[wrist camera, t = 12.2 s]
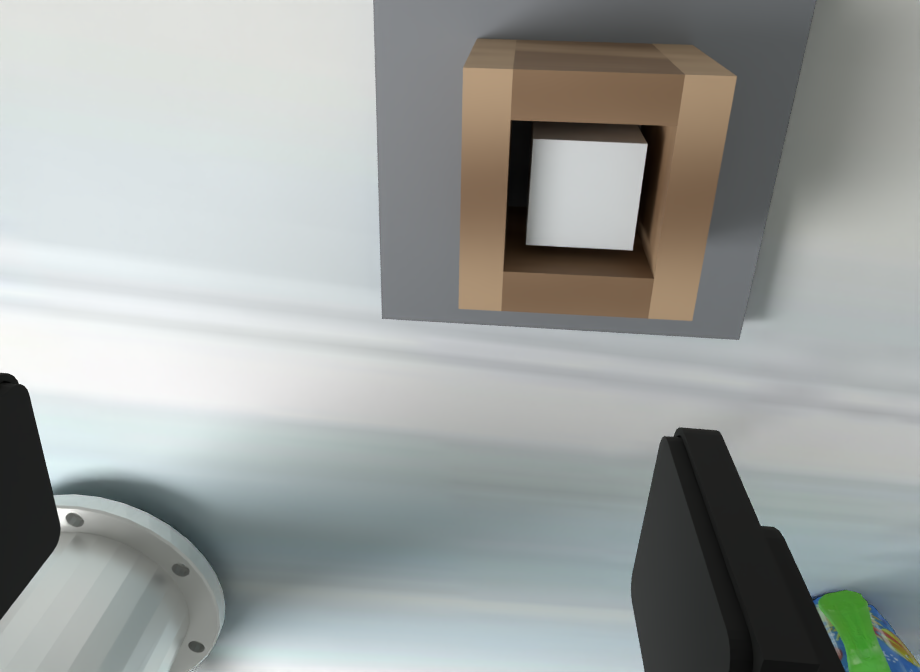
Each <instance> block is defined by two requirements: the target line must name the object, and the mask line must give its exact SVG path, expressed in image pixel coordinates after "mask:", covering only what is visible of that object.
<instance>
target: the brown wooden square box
mask: <svg viewBox="0 0 920 672" xmlns="http://www.w3.org/2000/svg"><path fill="white" fill-rule="evenodd" d="M736 79H737V76H736V75H735V74H733V73H732V72H730V71H729V70H727V69H726V68H725V67H723V66H722V65H720V64H719V63H718V62H716V61H715V60H713V59H712V58H710V57H709V56H708V55H706V54H705V53H703V52H702V51H701V50H699V49H698V48H696V47H695V46H693V45H681V44H647V43H612V42H578V41H543V40H509V39H477V40H476V42H475V44H474V46H473V48H472V50H471V52H470V54H469V56H468V58H467V60H466V62H465V65H464V67H463V94H462V149H461V203H460V257H459V309H471V310H491V311H510V312H529V313H549V314H568V315H587V316H607V317H626V318H646V319H665V320H684V321H692V320H693V314H694V309H695V303H696V298H697V292H698V287H699V281H700V276H701V270H702V265H703V260H704V254H705V249H706V243H707V238H708V232H709V227H710V221H711V216H712V210H713V205H714V199H715V194H716V189H717V183H718V178H719V172H720V167H721V161H722V156H723V150H724V145H725V139H726V134H727V129H728V123H729V118H730V112H731V107H732V101H733V96H734V90H735V85H736ZM513 120H521V121H549V122H577V123H605V124H633V125H641V133H642V135H643V136H644V138H645V140H646V142H647V144H648V145H647V152H646V159H645V166H644V173H643V180H642V187H641V194H640V201H639V208H638V215H637V222H636V230H635V237H634V244H633V250H615V249H596V248H577V247H558V246H539V245H526V207H512V206H508V201H509V181H510V161H511V141H512V121H513Z"/></svg>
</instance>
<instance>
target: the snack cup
mask: <svg viewBox="0 0 920 672" xmlns="http://www.w3.org/2000/svg"><path fill="white" fill-rule="evenodd" d="M813 602H814V604H815V606H816V609H817V611H818V613H819V615H820V617H821V619H822V622H823V624H824V626H825V628H826V630H827V632H828V635H829V637H830V639H831V641H832V643H833V645H834V648H835V650H836V652H837V654H838V656H839V659H840V661H841V663H842V665H843V667H844V669H845V672H920V665H919V663H918V662H917V661H916V659H915V658H914V656H913V655H912V654H911V652H910V651H909V650H908V649H907V647H906V646H905V645H904V644H903V642H902V641H901V640H900V639H899V638H898V636H897V635H896V634H895V632H894V630H893V628H892V627H891V626H890V624H889V623H888V622H887V621H886V620H885V619H884V618H883V617H882V616H881V615H880V614H879V612H878V611H877V610H876V608H875V607H874V606H872V605H868V603H867V601H866V600H865V599H864V598H863V597H862V595H861V594H859V593H856V592H853V591H848V590H843V591H838V592H833V593H828V594H825V595H823V596H821V597H818V598H816V599H815V600H813Z"/></svg>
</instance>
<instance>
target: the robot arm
mask: <svg viewBox="0 0 920 672" xmlns="http://www.w3.org/2000/svg"><path fill="white" fill-rule="evenodd" d="M631 597H632V604H633V609H634V615H635V620H636V626H637V632H638V637H639V643H640V648H641V654H642V659H643V665H644V670H645V672H845V669H844V667H843V665H842V663H841V661H840V659H839V656H838V654H837V652H836V650H835V648H834V645H833V643H832V641H831V639H830V637H829V635H828V632H827V630H826V628H825V626H824V624H823V622H822V619H821V617H820V615H819V613H818V611H817V609H816V606H815V604H814V602H813V600H812V598H811V596H810V593H809V591H808V589H807V587H806V585H805V582H804V580H803V578H802V576H801V574H800V572H799V569H798V567H797V565H796V563H795V561H794V559H793V556H792V554H791V552H790V550H789V548H788V546H787V543H786V541H785V539H784V537H783V536H782V534H781V533H780V531H779V530H777V529H776V528H774V527H767V526H760V523H759V521H758V519H757V516H756V514H755V512H754V509H753V507H752V505H751V502H750V500H749V498H748V495H747V493H746V491H745V488H744V486H743V484H742V481H741V479H740V477H739V474H738V472H737V470H736V467H735V465H734V463H733V460H732V458H731V456H730V453H729V451H728V449H727V446H726V444H725V442H724V439H723V437H722V435H721V433H720V432H719V431H717V430H705V429H692V428H680V427H679V428H678V429H677V430H676V432H675V434H674V437H667V436H664V437H662V439H661V442H660V445H659V450H658V455H657V460H656V464H655V469H654V474H653V478H652V483H651V488H650V493H649V497H648V502H647V507H646V512H645V516H644V521H643V526H642V530H641V535H640V540H639V545H638V549H637V554H636V559H635V563H634V568H633V573H632V581H631ZM225 608H226V606H225V600H224V594H223V590H222V587H221V585H220V582H219V580H218V578H217V575H216V573H215V572H214V570H213V569H212V567H211V566H210V564H209V563H208V561H207V560H206V558H205V557H204V556H203V555H202V553H201V552H200V551H199V550H198V549H197V548H196V547H195V546H194V545H193V544H192V543H191V542H190V541H189V540H188V539H187V538H185V537H184V536H183V535H182V534H180V533H179V532H178V531H176V530H175V529H174V528H172V527H171V526H170V525H168V524H167V523H165V522H163V521H161V520H160V519H158V518H156V517H154V516H152V515H151V514H149V513H147V512H145V511H142V510H140V509H137V508H135V507H132V506H130V505H127V504H125V503H121V502H117V501H113V500H109V499H106V498H102V497H95V496H86V495H77V494H69V495H53V491H52V487H51V483H50V479H49V475H48V471H47V467H46V462H45V458H44V454H43V450H42V446H41V442H40V437H39V433H38V429H37V425H36V421H35V417H34V413H33V408H32V404H31V400H30V396H29V393H28V390H27V389H26V387H25V386H23V385H21V384H19V383H18V381H17V379H16V378H15V377H14V376H13V375H10V374H8V373H0V672H187V671H189V670H191V669H192V668H194V667H196V666H198V665H199V664H200V663H201V662H202V661H203V660H204V659H205V658H206V657H207V656H208V655H209V654H210V652H211V650H212V648H213V647H214V645H215V643H216V641H217V639H218V636H219V634H220V631H221V629H222V626H223V624H224V618H225Z"/></svg>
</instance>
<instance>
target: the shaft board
mask: <svg viewBox="0 0 920 672" xmlns="http://www.w3.org/2000/svg"><path fill="white" fill-rule="evenodd" d="M815 4H816V0H373V5H374V42H375V78H376V115H377V151H378V188H379V224H380V260H381V297H382V319H396V320H413V321H430V322H447V323H464V324H481V325H498V326H515V327H532V328H549V329H566V330H582V331H599V332H616V333H633V334H650V335H667V336H684V337H701V338H718V339H735V340H739V338H740V334H741V330H742V325H743V321H744V316H745V312H746V308H747V303H748V299H749V294H750V290H751V286H752V281H753V277H754V272H755V268H756V264H757V259H758V255H759V251H760V246H761V242H762V237H763V233H764V229H765V224H766V220H767V215H768V211H769V207H770V202H771V198H772V193H773V189H774V185H775V180H776V176H777V171H778V167H779V163H780V158H781V154H782V149H783V145H784V141H785V136H786V132H787V127H788V123H789V119H790V114H791V110H792V105H793V101H794V97H795V92H796V88H797V83H798V79H799V75H800V70H801V66H802V61H803V57H804V53H805V48H806V44H807V39H808V35H809V31H810V26H811V22H812V17H813V13H814V9H815ZM477 39H509V40H543V41H578V42H612V43H647V44H681V45H693V46H695V47H696V48H698V49H699V50H701V51H702V52H703V53H705V54H706V55H708V56H709V57H710V58H712V59H713V60H715V61H716V62H718V63H719V64H720V65H722V66H723V67H725V68H726V69H727V70H729V71H730V72H732V73H733V74H735V75H736V76H737V79H736V85H735V90H734V96H733V101H732V107H731V112H730V118H729V123H728V129H727V134H726V139H725V145H724V150H723V156H722V161H721V167H720V172H719V178H718V183H717V189H716V194H715V199H714V205H713V210H712V216H711V221H710V227H709V232H708V238H707V243H706V249H705V254H704V260H703V265H702V270H701V276H700V281H699V287H698V292H697V298H696V303H695V309H694V314H693V320H692V321H684V320H665V319H646V318H626V317H607V316H587V315H568V314H549V313H529V312H510V311H491V310H471V309H459V257H460V203H461V149H462V94H463V67H464V65H465V62H466V60H467V58H468V56H469V54H470V52H471V50H472V48H473V46H474V44H475V42H476V40H477ZM647 145H648V144H647V142H646V140H645V138H644V136H643V135H642V133H641V125H633V124H605V123H577V122H549V121H521V120H513V121H512V141H511V161H510V181H509V201H508V206H512V207H526V245H539V246H558V247H577V248H596V249H615V250H633V244H634V237H635V230H636V222H637V215H638V208H639V201H640V194H641V187H642V180H643V173H644V166H645V159H646V152H647Z"/></svg>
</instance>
